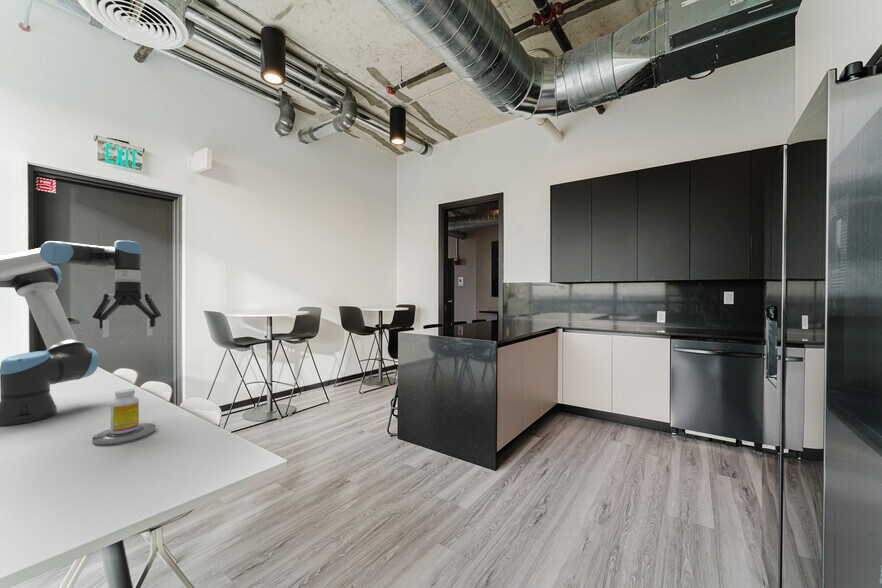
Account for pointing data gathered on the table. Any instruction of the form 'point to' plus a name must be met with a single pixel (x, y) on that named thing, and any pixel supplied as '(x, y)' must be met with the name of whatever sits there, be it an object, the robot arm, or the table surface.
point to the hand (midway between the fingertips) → (128, 336)
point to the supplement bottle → (124, 412)
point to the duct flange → (123, 435)
